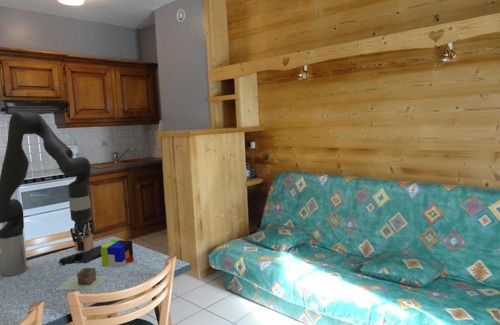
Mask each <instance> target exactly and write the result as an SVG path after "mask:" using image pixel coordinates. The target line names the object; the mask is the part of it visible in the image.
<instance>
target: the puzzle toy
mask: <svg viewBox="0 0 500 325" xmlns="http://www.w3.org/2000/svg"><path fill="white" fill-rule="evenodd" d="M101 246H102V247H101V256H100V257H101V266H102V267H124V266H125V265H126V264H128V263H133V262H134V261H135V260H134V249H133V247H134V246H133V240H129V239H128V240H127V239H125V240H122V239H113V240H111V241H109V242H107V243H106V244H103V245H101Z"/></svg>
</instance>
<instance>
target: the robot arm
mask: <svg viewBox="0 0 500 325" xmlns="http://www.w3.org/2000/svg"><path fill="white" fill-rule="evenodd" d="M34 134H35V135H37V136H38V137H40V138H41V139H42V141H43V144H42V145H43V148H44V150H45V152H46V153H47V155H49V156H50V157H51V158H52V159H53V160H55V162H56V163H57V165H58V167H59V169H60V171H61V172H62V174H63V175H64V176H67V177H69V178H70V177H75V179H74V181H71V182H70V183H69V184H68V195H69V196H68V197H69V202H68V203H69V212H70V220H71V221H73V222H74V226H73V228H70V230H69V231H70V234H71V238H72V242H73V243H75V242H77V246H78V251H83V250H84V243H83V236H84V235H93V234H94V219H91V218H92V216H93V215H92V205H91V199H90V194H89V182H90V176H91V171H92V167H91V166H92V165H91V163H90V162H91V161H89V159H88V158H87V157H84V156H83V157H82V156H80V157H73V156H74V152H73V150H72V149H71V148H69V146H67V145H66V144H65V143H64V142H63V141H62V139H60V138H59V137H58V136H57V135H56V134H55V133H54V131H53V130H52V128H51V127H50V125H48V123H47V122H46V120H45V119H44V118H43V116H41V115H40V114H39V113H37V112H31V111H15V112H13V114H11V116H10V119H9V122H8V132H7V141H6V148H5V155H4V158H3V162H2V166H1V171H0V224H3V223H5V225H4V226H3V227H2V228H1V229H0V275H1V276H2V275H3V276H6V277H12V276H17V275H21V274H23V273H25V272H26V271H28V265H27V264H28V263H27V254H26V247H25V238H24V237H25V236H24V228H25V222H24V209H23V208H24V207H23V205H22V203H21V201H20V200H18V199H16V198H12V197H13V194H14V193H16V191H17V189H18V188H19V187H20V186H21V185H22V184H23V182H24V181H25V179H26V178H27V175H28V171H29V164H30V162H29V160H28V159H29V158H28V156H27V154H26V153H25V151H24V149H23V139H24V135H34ZM80 236H81V239H80Z"/></svg>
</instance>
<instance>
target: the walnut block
mask: <svg viewBox="0 0 500 325" xmlns="http://www.w3.org/2000/svg"><path fill="white" fill-rule="evenodd" d="M76 274H77V275H76V276H77V277H78V285H91V284H92V283H93V282H94V281H95V280H96V276H97V272H96V267H83V268H81V269H80V271H78V272H77V273H76Z"/></svg>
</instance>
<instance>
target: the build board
mask: <svg viewBox="0 0 500 325" xmlns="http://www.w3.org/2000/svg"><path fill="white" fill-rule="evenodd" d="M107 278H108V275H96V280H95V281H94V282H93V283H92V284H91V285H78V277H77V275H72V276H70V277H69V278H67V279H66V280H65V281H64V282H63V283H61V284H60V285H59V286H58V287H56V288H55V290H58V291H59V290H96V288H98V287H99V286H100V284H101V283H103V281H104V280H106V279H107Z"/></svg>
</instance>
